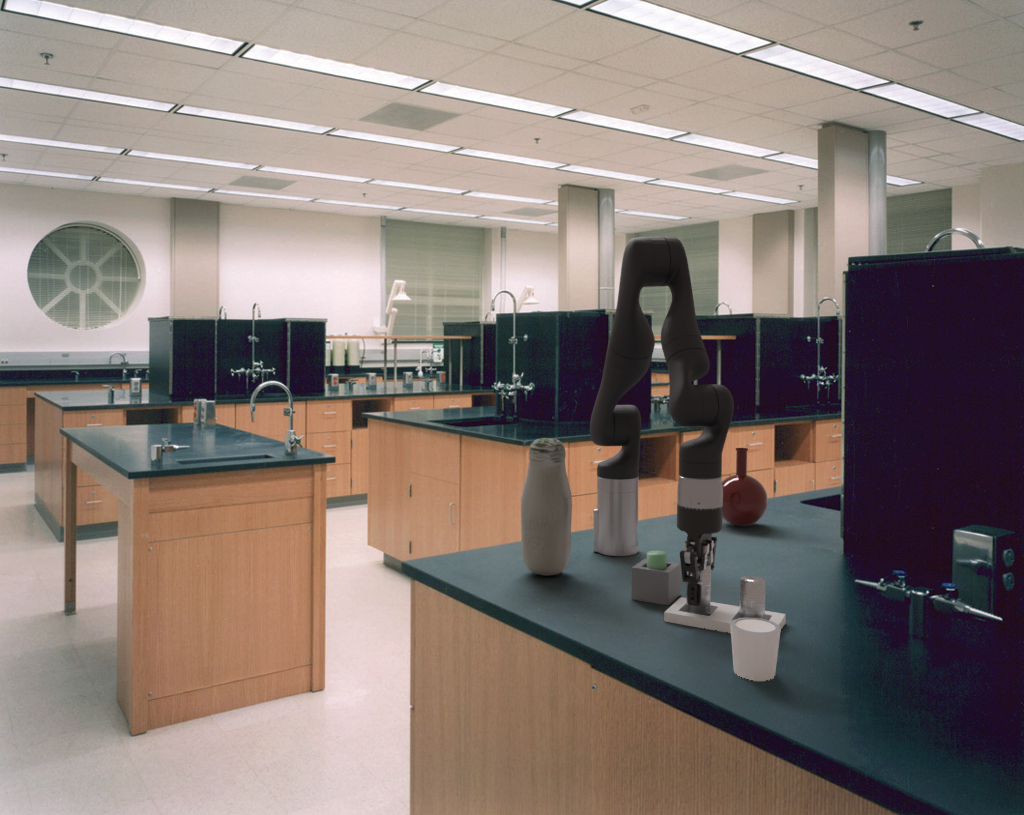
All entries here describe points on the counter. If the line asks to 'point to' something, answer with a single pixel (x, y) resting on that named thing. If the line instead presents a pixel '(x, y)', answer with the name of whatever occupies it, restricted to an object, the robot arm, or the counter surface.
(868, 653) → the counter surface
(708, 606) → the cylinder
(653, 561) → the button
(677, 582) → the grey square holder
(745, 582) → the seated billet
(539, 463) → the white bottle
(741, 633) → the white cup
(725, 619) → the grey flat frame
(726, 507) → the round-bottom flask
